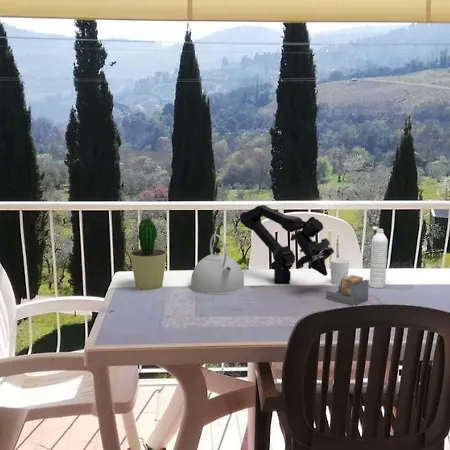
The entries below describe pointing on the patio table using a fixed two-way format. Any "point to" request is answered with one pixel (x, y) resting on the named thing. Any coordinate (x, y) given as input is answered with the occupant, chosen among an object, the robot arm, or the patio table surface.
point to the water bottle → (378, 259)
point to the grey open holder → (357, 294)
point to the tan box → (349, 283)
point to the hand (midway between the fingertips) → (326, 275)
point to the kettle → (217, 273)
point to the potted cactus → (148, 258)
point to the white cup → (339, 270)
